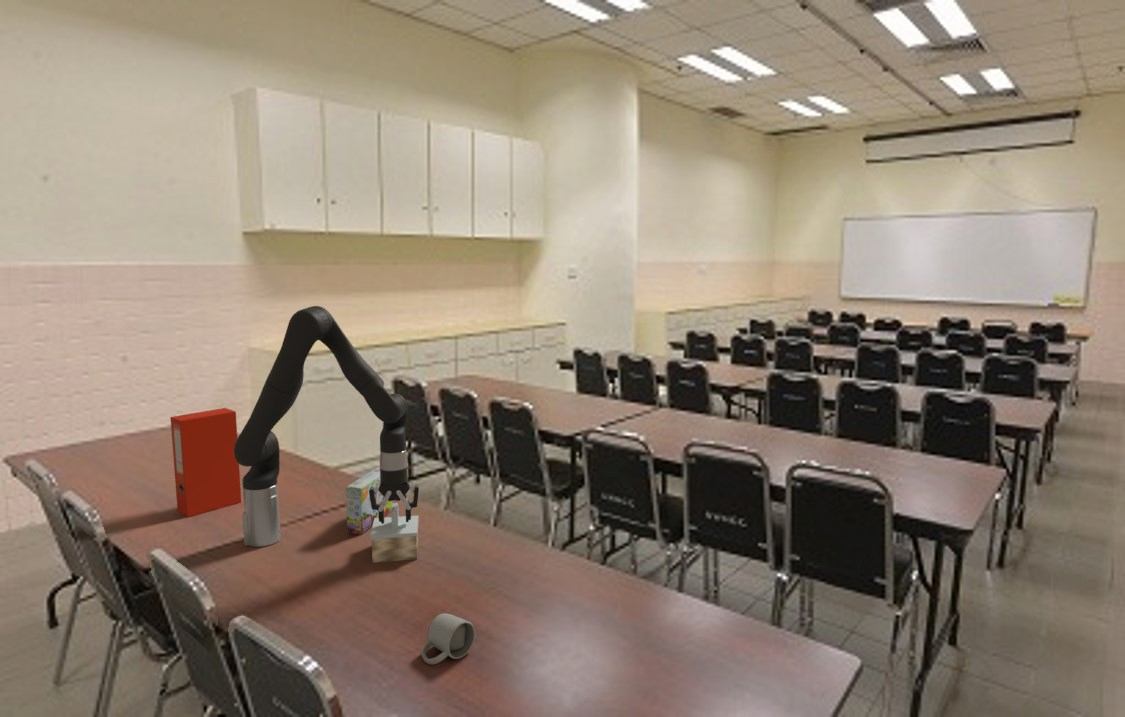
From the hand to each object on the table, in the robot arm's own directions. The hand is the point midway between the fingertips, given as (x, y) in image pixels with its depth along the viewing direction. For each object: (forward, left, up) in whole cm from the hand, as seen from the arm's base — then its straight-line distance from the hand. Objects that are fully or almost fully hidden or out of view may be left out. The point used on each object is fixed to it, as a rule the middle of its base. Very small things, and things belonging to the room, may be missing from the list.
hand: (395, 521), depth 191 cm
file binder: (-63, +45, -9) cm, 78 cm away
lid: (0, 0, -3) cm, 3 cm away
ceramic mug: (+13, -52, -9) cm, 55 cm away
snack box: (-9, +24, -9) cm, 27 cm away
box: (0, 0, -9) cm, 9 cm away
